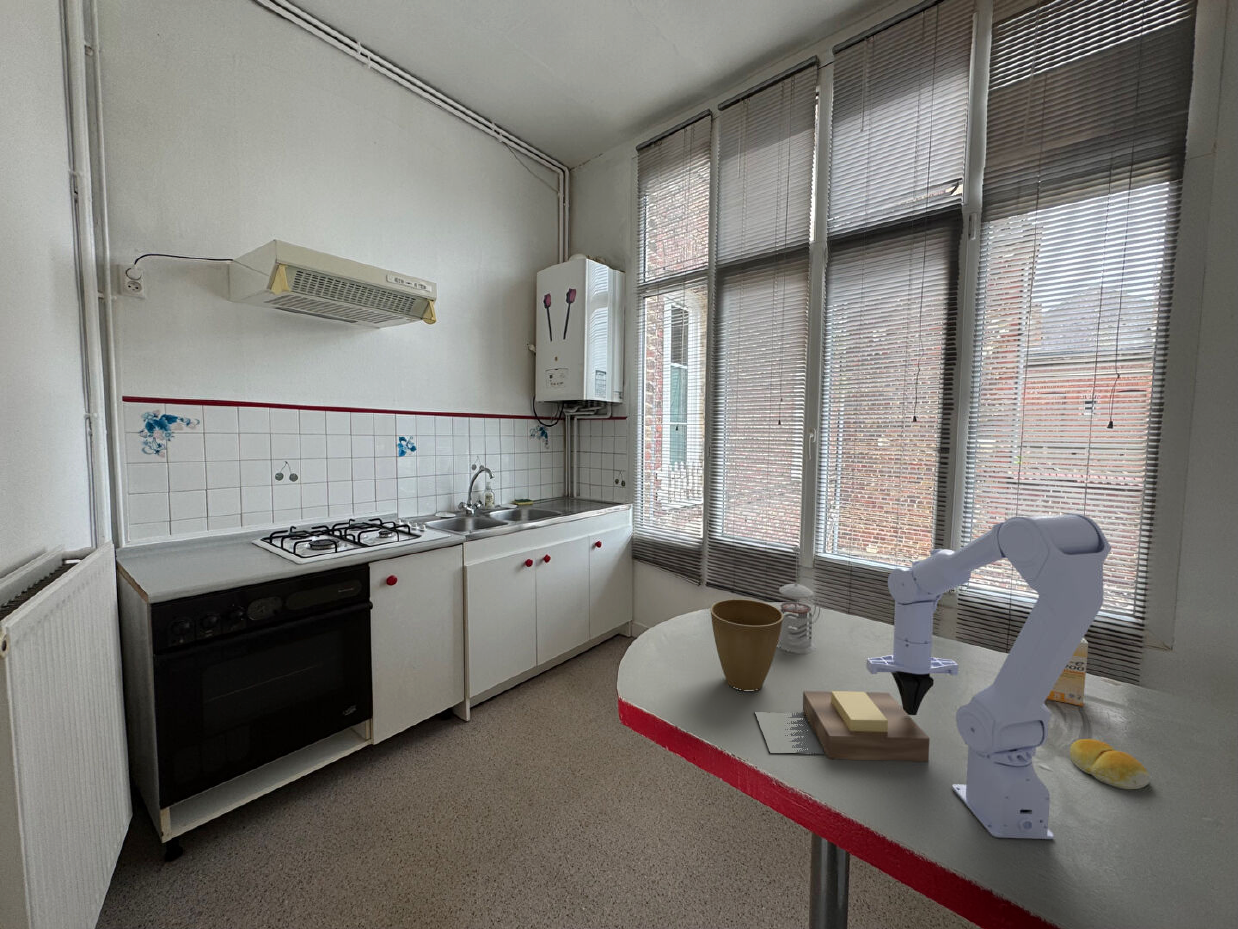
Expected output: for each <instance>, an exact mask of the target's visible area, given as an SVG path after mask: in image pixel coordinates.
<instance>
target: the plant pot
mask: <svg viewBox="0 0 1238 929" xmlns="http://www.w3.org/2000/svg"><path fill="white" fill-rule="evenodd" d="M783 615H784V614H783V613H782V612H781V611H780V609H779V608H777V607H776V606H774V605H772V604H769V603H766V602H762V601H758V600H753V599H744V598H741V599H740V598H739V599H738V598H733V599H732V598H731V599H724V600H720V601H717V602H715V603H713V604H712V605H711V606H710V616H711V617H710V618H711V624H712V630H713V638H714V642H715V647H716V651H717V655H718V659H719V663H720V666H721V669H722V672H723V675H724V677H725V681H726V683H727V682H728V683H727V684H728V685H729V687H731V686H732V687H735V688H738V689H741V690H756V689H759V688H760V687H761V688H762V687H763V685H764V683H765V681H766V678H767V677H768V674H769V671H770V669H771V666H772V663H773V661H774V657H775V654H776V651H777V648H778V647H777V645H778V641H779V636H780V632H781V627H782V621H783ZM732 687H731V688H732ZM761 688H760V689H761ZM760 689H759V690H760Z"/></svg>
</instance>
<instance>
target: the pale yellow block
mask: <svg viewBox="0 0 1238 929" xmlns="http://www.w3.org/2000/svg"><path fill="white" fill-rule="evenodd" d="M830 692H831V702H832V704H833V705H834V707H835V708H836V710H837V711H838V713H839V714H840V716H841V717H842V719H843V720H844V722H845V723H846V725H847V726H848V728H849V729H850V731H874V732H887V731H888V720H887V719H886V717H885V716H884V715H883V714H882V713H881V711H880V710H879V709H878V708H877V706H876V705H875V704H874V703H873V702H872V700H871V699H870V698H869V697H868V695H867V694H866V693H865V692H866V691H850V690H849V691H848V690H847V691H846V690H845V691H844V690H842V691H840V690H837V691H835V690H830Z"/></svg>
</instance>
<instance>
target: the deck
mask: <svg viewBox="0 0 1238 929" xmlns="http://www.w3.org/2000/svg"><path fill="white" fill-rule="evenodd" d="M864 692H865V693H866V694H867V695H868V697H869V698H870V699H871V700H872V702H873V703H874V704H875V705H876V706H877V708H878V709H879V710H880V711H881V713H882V714H883V715H884V716H885V717H886V719H887V720H888V731H887V732H874V731H850V729H849V728H848V726H847V725H846V723H845V722H844V720H843V719H842V717H841V716H840V714H839V713H838V711H837V710H836V708H835V707H834V705H833V704H832V702H831V691H823V690H822V691H821V690H820V691H819V690H817V691H812V690H803V691H802V712H803V711H804V712H803V714H804V713H805V714H804V715H806V716H805V717H807V718H808V720H809V721H808V720H807V721H808V723H809V722H810V723H809V725H810V724H811V725H810V727H811V726H812V727H811V729H812V728H813V729H812V731H813V732H814V731H815V732H814V734H815V733H816V734H815V736H816V735H817V736H816V737H818V738H817V739H819V740H818V742H819V743H820V742H821V743H820V745H821V744H822V745H821V747H822V746H823V747H822V749H823V748H824V749H825V751H826V752H825V751H824V752H825V754H826V753H827V754H826V756H827V755H828V756H827V757H829V758H828V760H852V761H853V760H855V761H856V760H857V761H858V760H859V761H861V760H862V761H898V762H899V761H900V762H901V761H902V762H930V761H929V760H930V759H929V757H930V737H929V736H928V735H927V734H926V733H925V731H924V730H923V729H922V728H921V727H920V726H919V725H918V724H917V723H916V721H915V720H914V719H913V718H912V717H911V715H908V714H907V713H906V712H905V711H904V710H903V706H902V705H900V704H899V703H898V702H897V701H896V699H895V698H894V697H893V696H892V695H891V694H890V693H889V692H879V691H877V692H874V691H873V692H872V691H871V692H869V691H868V692H866V691H864ZM807 718H806V719H807ZM824 749H823V750H824ZM830 758H831V759H830ZM832 758H833V759H832Z"/></svg>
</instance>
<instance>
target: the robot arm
mask: <svg viewBox="0 0 1238 929" xmlns="http://www.w3.org/2000/svg"><path fill="white" fill-rule="evenodd" d="M1111 550H1112V546H1111V544H1110V543H1109V541H1108V539H1107V538H1106V535H1105V534H1104V532H1103V530H1102V529H1101V527H1100V525H1099V524H1098V523H1097V522H1096V521H1094V520H1093V518H1090V517H1089V516H1087V515H1084V514H1081V513H1077V512H1068V513H1064V514H1059V515H1058V514H1057V515H1040V516H1038V515H1036V516H1024V515H1016V516H1012V517H1009V518H1008V519H1006V520H1005V521H1003V522H998V523H996V524H993V525H992V528H991V529H990V530H988V531H986V532H985V533H984V534H982V535H980V536H979V537H977V538H975V539H974V540H972V541H971V542H969V543H967V544H966V545H964V546H962V547H960V548H958V549H957V550H956V551H955V550H951V549H947V548H946V549H945V548H944V549H943V548H934V549H933V550H931V551H929V552H930V556H928V557H927V558H924V559H923V560H915V561H914V562H912V564H911V567H909V568H894V569H893V571H891V572H890V574H889V575H888V578H887V587H888V588H887V589H888V591H889V593H890V595H891V597H892V598H893V600H894V622H893V623H894V624H893V649H892V650H893V651H892V653H893V654H889V655H884V656H878V657H867V658H866V669H867V671H868V672H869V673H870V674H871V675H877V674H878V673H891V675H892V678H893V680H894V681H895V684H896V687H897V689H898V693H899V696H900V700H901V707H902V708H903V710H904V711H905V712H906V713H907V714H908V715H909V716H917V715H918V712H919V708H920V707H921V703H922V701H923V699H924V697H925V696H926V695H927V693H928V691H929V690H930V689H931V688H932V687H933V686H934V681H935V680H934V678H933V677H931V676H930V675H931V674H949V675H950V676H958V675H959V672H958V671H959V664H957V663H956V661H954V660H953V659H951V658H950V659H949V658H948V659H946V658H940V657H938V658H937V657H932V655H933V654H932V653H933V652H932V651H933V650H932V649H933V630H934V629H933V627H934V626H933V625H934V613H935V612H936V611H937V609H938V606H937V605H938V602H939V601H941V599H942V597H943V595H944V593H946V592H949V591H951V590H953V589H956V588H959V587H960V586H963V585H966V584H967V583H968V582H969V581H970V579H971V577H972V572H973V571H975V570H977V569H980V568H982V567H985V566H988V565H990V564H992V563H996V562H998V561H1000V560H1003V559H1007V561H1009V563H1010V564H1011V565H1012V566H1013V568H1014V569H1015V570H1016V571H1017V573H1018V574H1019V576H1021V578H1022V579H1023V580H1024V582H1025V583H1027V585H1028V586H1029V588H1030V589H1031V590H1033V591H1035V592H1036V593H1037V594H1038V598H1037V600H1036V602H1035V604H1034V606H1033V607H1032V608H1031V611H1030V613H1029V615H1028V617H1027V618H1026V620H1025V622H1024V624H1023V626H1022V627H1021V630H1020V632H1019V634H1018V636H1017V638H1016V640H1015V641H1014V644H1012V647H1011V649H1010V651H1009V653H1008V654H1007V655H1006V658H1005V660H1004V662H1003V664H1002V665H1001V667H1000V669H999V672H998V673H997V675H996V677H995V679H994V681H993V683H992V684H990V685H989V686H987V687H986V688H984V689H982V690H981V691H979V692H977V693H975V695H973V696H972V697H971V699H970V701H969V702H968V703H967V704H966V703H965V704H964V705H961V706H960V707H959V708H958V709H957V711H956V712H955V713H956V715H955V724H956V727H957V731H958V732H959V735H960V737H961V739H962V740H963V742H964V744H965V746H967V747H968V748H967V764H966V784H957V783H954V784H952V785H951V786H952V787H951V788H952V790H953V791H954V792H955V794H957V796H958V797H959V798H960V799H961V800H962V802H963V803H964V804H965V805H966V806H967V807H968V809H969V810H970V811H971V812H972V814H973V815H974V816H975V817H976V818H977V819H978V821H979V822H980V823H981V824H982V825H983V827H984V828H985V829H986V830H987V831H988V833H990V835H991V836H993V837H994V838H1002V839H1003V838H1007V839H1008V838H1010V839H1011V838H1012V839H1034V840H1035V839H1036V840H1038V839H1039V840H1040V839H1042V840H1044V839H1045V840H1054V839H1055V835H1054V833H1053V832H1052V830H1051V831H1050V829H1049V817H1050V801H1051V796H1050V793H1049V789H1048V787H1047V786H1046V785H1045V783H1044V782H1043V781H1042V780H1041V779H1040V777H1039V776H1038V774H1037V772H1036V771H1035V768H1034V764H1033V760H1032V759H1033V757H1034V756H1036V750H1037V747H1041V746H1043V745H1045V744H1046V742H1047V740H1048V737H1049V731H1048V730H1049V729H1048V724H1049V721H1050V719H1051V717H1052V715H1053V714H1052V713H1051V711H1050V709H1049V708H1048V707H1047V705H1046V704H1045V702H1046V700H1047V699H1046V698H1047V696H1048V695H1049V693H1050V692H1051V690H1052V688H1053V687H1054V685H1055V683H1056V682H1057V680H1058V678H1059V677H1060V675H1061V673H1062V672H1063V670H1064V668H1065V667H1066V665H1067V663H1068V662H1069V660H1070V658H1071V657H1072V655H1073V653H1074V652H1075V650H1076V648H1077V647H1078V645H1079V644H1080V642H1081V640H1082V639H1083V638H1085V635H1086V634H1087V632H1088V630H1089V628H1090V627H1091V625H1092V623H1093V622H1094V620H1095V619H1096V617H1097V616H1098V614H1099V612H1100V610H1102V606H1103V603H1104V562H1105V561H1106V559H1107V557H1108V556H1109V554H1110V552H1111Z"/></svg>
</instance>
